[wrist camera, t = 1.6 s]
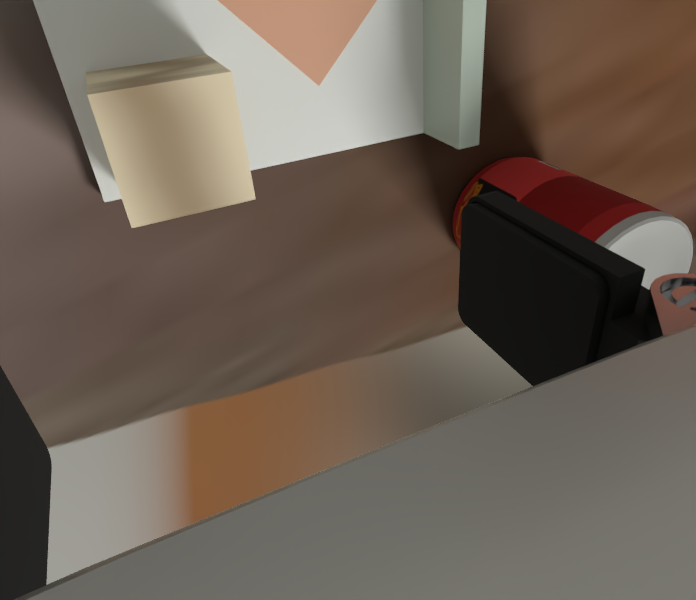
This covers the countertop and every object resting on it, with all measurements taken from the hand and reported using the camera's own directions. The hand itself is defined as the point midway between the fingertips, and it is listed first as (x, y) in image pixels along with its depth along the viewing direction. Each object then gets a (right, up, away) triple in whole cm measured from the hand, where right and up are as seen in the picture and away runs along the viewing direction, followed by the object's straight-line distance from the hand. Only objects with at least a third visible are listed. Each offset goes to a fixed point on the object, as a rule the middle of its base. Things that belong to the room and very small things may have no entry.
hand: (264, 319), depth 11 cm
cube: (-7, +8, +14) cm, 17 cm away
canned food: (+12, +6, +25) cm, 28 cm away
